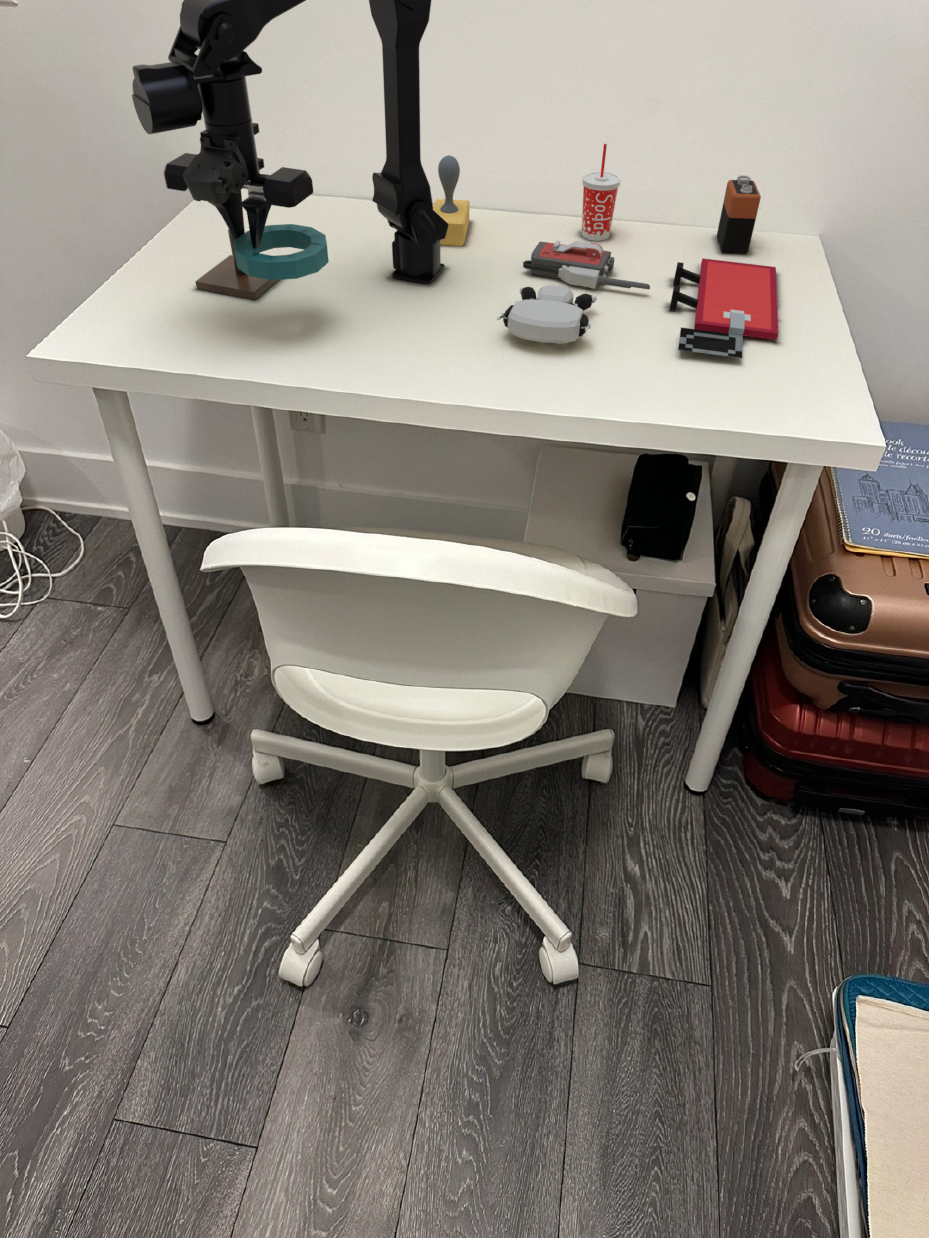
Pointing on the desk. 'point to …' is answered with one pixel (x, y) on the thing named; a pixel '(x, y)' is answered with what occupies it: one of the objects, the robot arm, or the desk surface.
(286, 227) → the ring
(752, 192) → the battery
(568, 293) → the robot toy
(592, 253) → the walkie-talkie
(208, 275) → the stand
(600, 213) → the beverage cup
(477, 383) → the desk surface
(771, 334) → the red board with handle
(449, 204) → the rubber stamp
